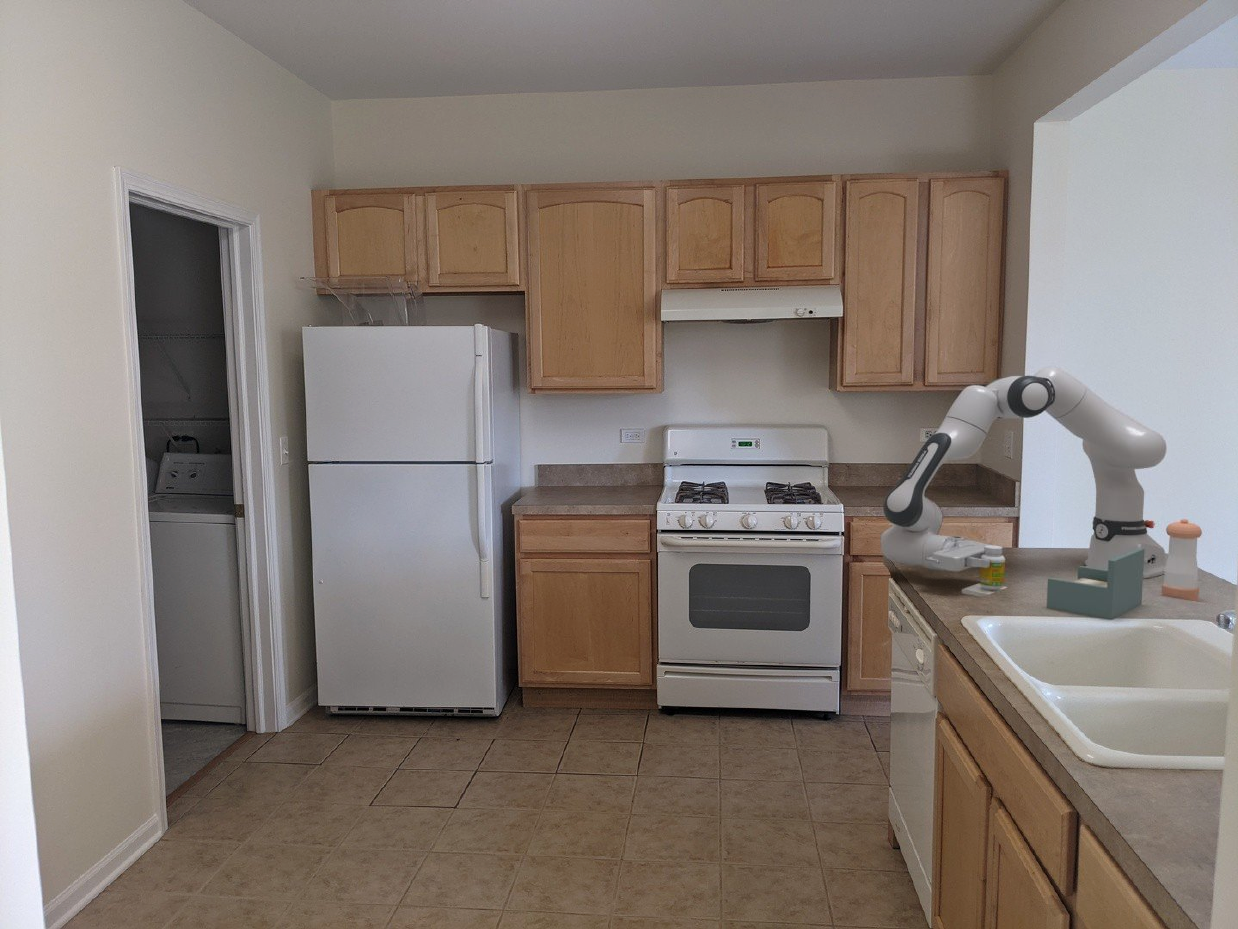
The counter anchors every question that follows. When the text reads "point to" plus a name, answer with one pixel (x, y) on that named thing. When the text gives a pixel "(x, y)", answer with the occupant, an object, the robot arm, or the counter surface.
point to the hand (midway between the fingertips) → (996, 561)
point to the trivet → (979, 590)
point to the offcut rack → (1101, 588)
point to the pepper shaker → (1182, 561)
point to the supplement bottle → (993, 568)
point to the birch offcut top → (1091, 582)
